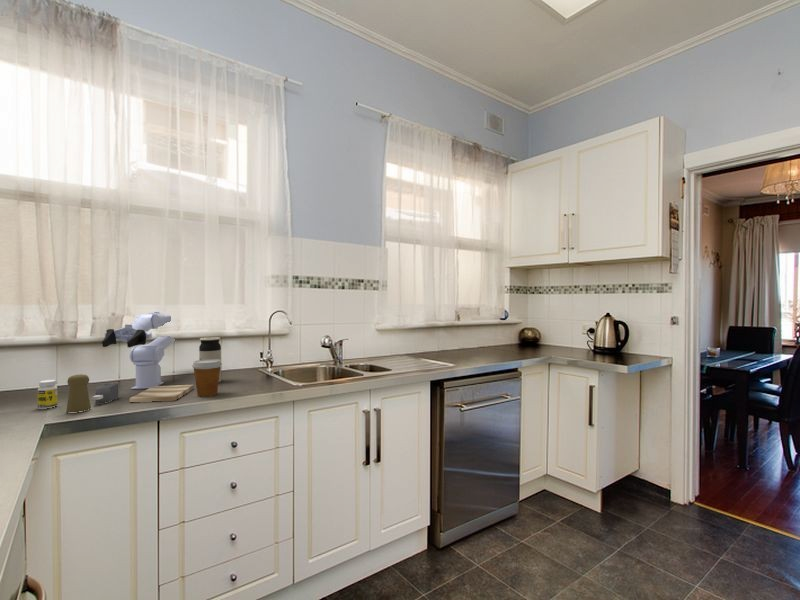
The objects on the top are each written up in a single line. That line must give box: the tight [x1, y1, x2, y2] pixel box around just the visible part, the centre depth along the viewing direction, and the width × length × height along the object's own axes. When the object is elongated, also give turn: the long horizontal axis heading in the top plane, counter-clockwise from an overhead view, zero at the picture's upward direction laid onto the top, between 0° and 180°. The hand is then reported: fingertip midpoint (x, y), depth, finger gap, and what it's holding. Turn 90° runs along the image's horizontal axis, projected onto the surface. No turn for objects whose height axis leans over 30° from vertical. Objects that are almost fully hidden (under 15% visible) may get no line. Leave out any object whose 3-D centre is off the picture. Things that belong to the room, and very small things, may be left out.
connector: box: [91, 382, 119, 404], centre depth 134 cm, size 11×4×5 cm, turn 10°
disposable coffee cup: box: [191, 359, 223, 397], centre depth 142 cm, size 10×10×12 cm
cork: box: [65, 373, 92, 413], centre depth 123 cm, size 6×6×11 cm
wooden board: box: [129, 384, 195, 403], centre depth 142 cm, size 18×14×2 cm
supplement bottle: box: [37, 379, 59, 410], centre depth 127 cm, size 5×5×8 cm
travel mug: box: [198, 336, 222, 383], centre depth 163 cm, size 8×8×18 cm
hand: (116, 344), depth 135 cm, fingers open, 7 cm apart
